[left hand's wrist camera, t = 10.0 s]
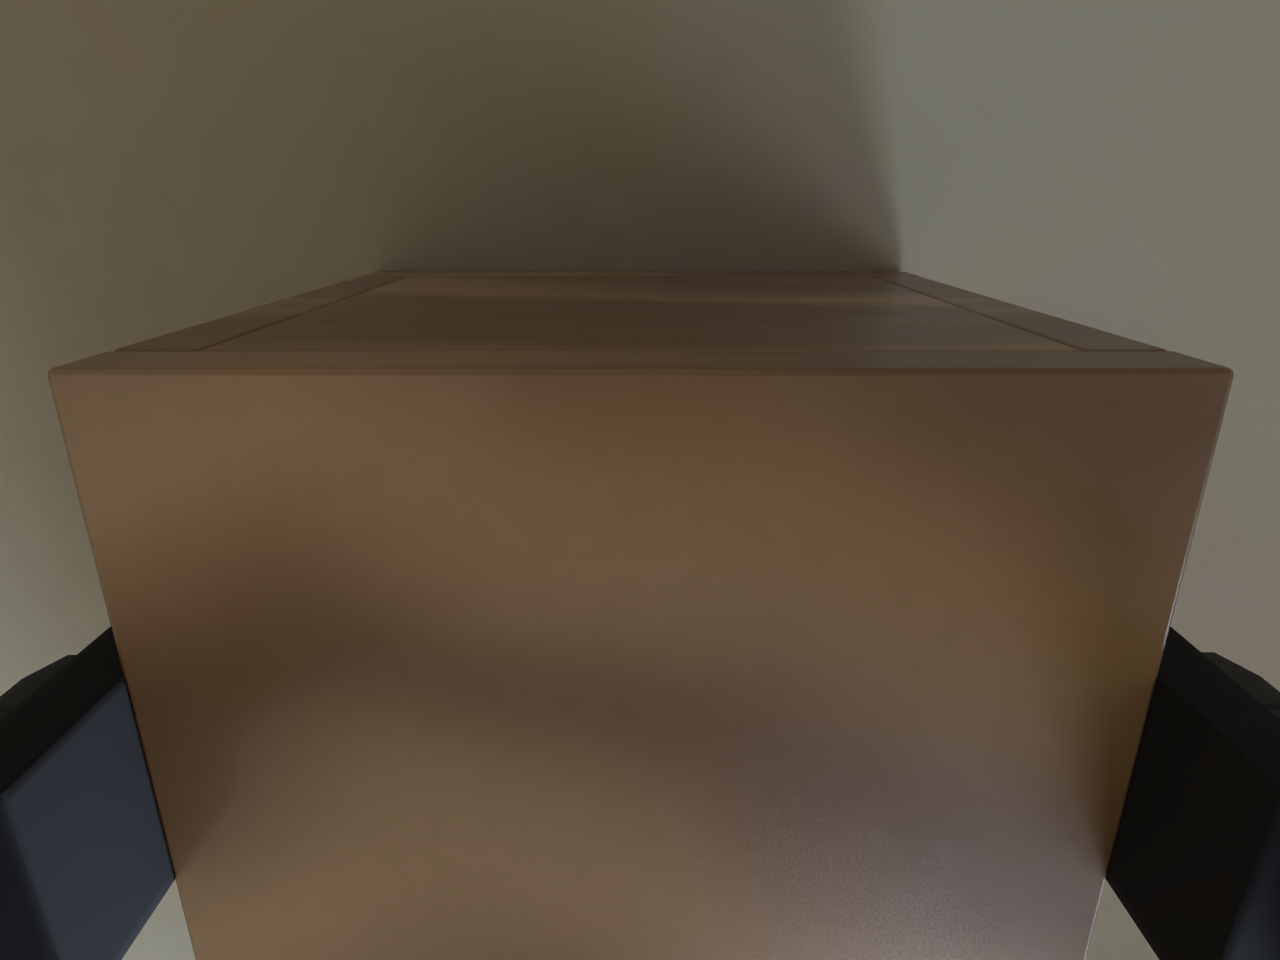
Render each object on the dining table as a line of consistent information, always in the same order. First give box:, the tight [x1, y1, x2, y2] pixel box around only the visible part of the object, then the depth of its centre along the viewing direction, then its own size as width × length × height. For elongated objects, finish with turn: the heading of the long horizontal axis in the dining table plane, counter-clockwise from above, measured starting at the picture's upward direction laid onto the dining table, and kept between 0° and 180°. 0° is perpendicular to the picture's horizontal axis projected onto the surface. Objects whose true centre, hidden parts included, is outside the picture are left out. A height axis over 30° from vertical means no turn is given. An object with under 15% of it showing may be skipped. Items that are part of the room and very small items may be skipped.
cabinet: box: [48, 272, 1233, 960], centre depth 15 cm, size 20×11×10 cm, turn 0°
